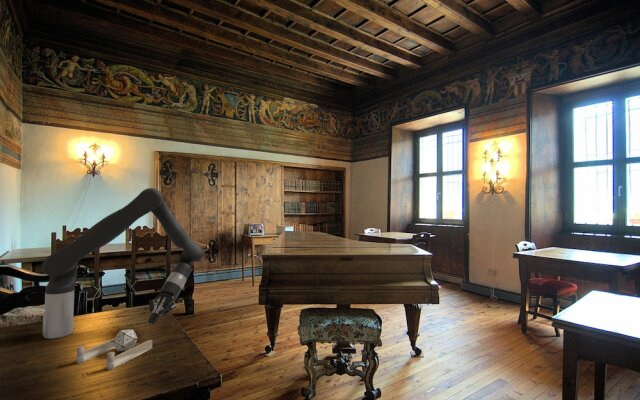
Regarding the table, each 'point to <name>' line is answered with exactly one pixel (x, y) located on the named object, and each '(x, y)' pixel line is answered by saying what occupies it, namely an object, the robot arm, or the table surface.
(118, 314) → the table surface
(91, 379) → the table surface
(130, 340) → the game die
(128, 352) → the chute
